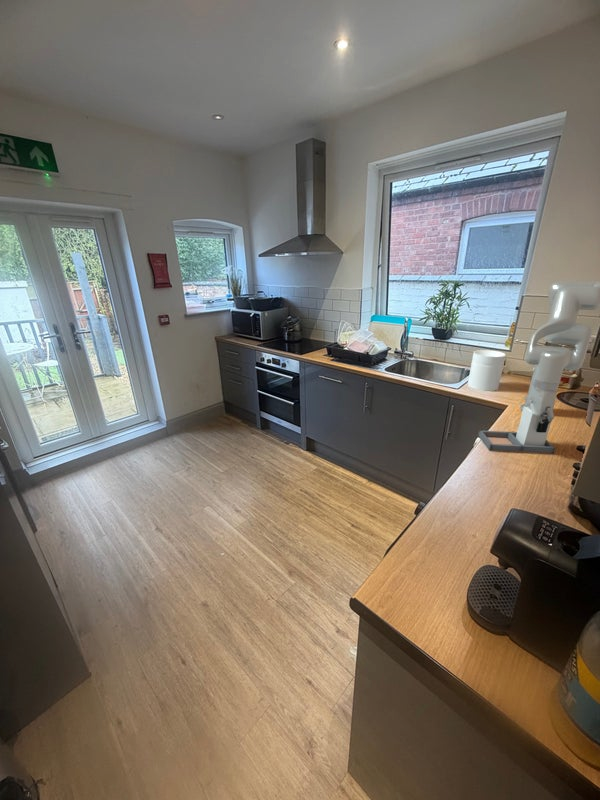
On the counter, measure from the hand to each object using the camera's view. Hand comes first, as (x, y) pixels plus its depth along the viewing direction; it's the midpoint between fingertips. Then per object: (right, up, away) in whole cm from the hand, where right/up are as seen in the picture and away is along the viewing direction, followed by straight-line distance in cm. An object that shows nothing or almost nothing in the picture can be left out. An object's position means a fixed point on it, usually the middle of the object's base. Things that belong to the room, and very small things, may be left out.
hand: (534, 426), depth 126 cm
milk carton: (0, -8, +3) cm, 9 cm away
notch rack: (-5, -8, +4) cm, 10 cm away
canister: (+17, +18, +65) cm, 70 cm away
